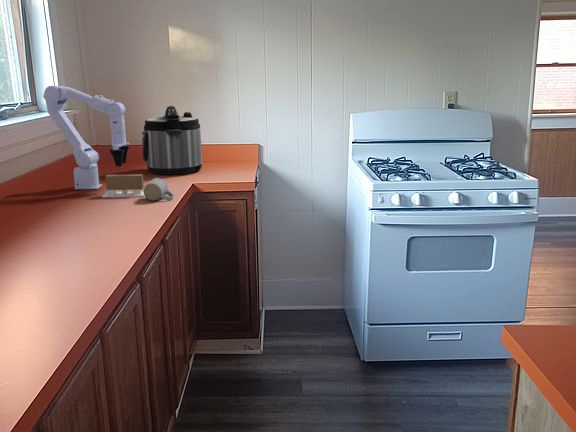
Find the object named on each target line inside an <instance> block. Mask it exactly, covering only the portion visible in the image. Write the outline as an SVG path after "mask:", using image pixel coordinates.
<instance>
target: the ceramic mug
mask: <svg viewBox="0 0 576 432" xmlns="http://www.w3.org/2000/svg"><path fill="white" fill-rule="evenodd" d="M168 189H169V186H168V184H167V182H166V181H165V180H164V179H162V178H160V177H155V178H152V179H151V180H149V182H148V183H147V184H146V185H145V186H144V188H143V191H144V195H145V196H144V197H145V198H146V199H147V200H148V201H151V202H156V201H159V200H161V199H163V200H165V201H171V200H173V199H174V197H175V196H174V194H173V193H172V192H171V191H169V190H168Z"/></svg>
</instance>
